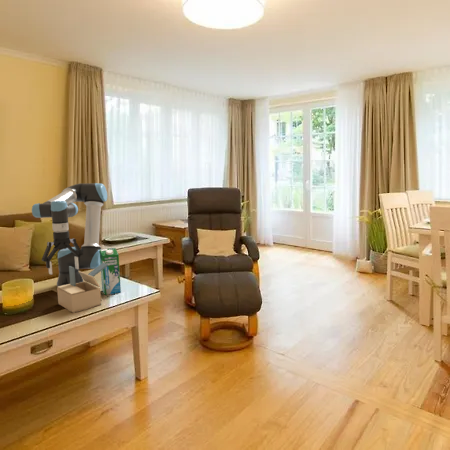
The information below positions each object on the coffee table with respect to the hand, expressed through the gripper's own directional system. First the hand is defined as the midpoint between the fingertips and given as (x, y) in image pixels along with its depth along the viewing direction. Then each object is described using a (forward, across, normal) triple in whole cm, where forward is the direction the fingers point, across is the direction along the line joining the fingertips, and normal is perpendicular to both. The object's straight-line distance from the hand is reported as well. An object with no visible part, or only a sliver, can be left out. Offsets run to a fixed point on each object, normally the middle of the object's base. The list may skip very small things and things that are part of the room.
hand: (64, 271), depth 188 cm
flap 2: (+6, +11, -4) cm, 13 cm away
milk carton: (+18, +27, +2) cm, 33 cm away
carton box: (+18, +5, -4) cm, 19 cm away
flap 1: (+9, +1, -4) cm, 10 cm away
